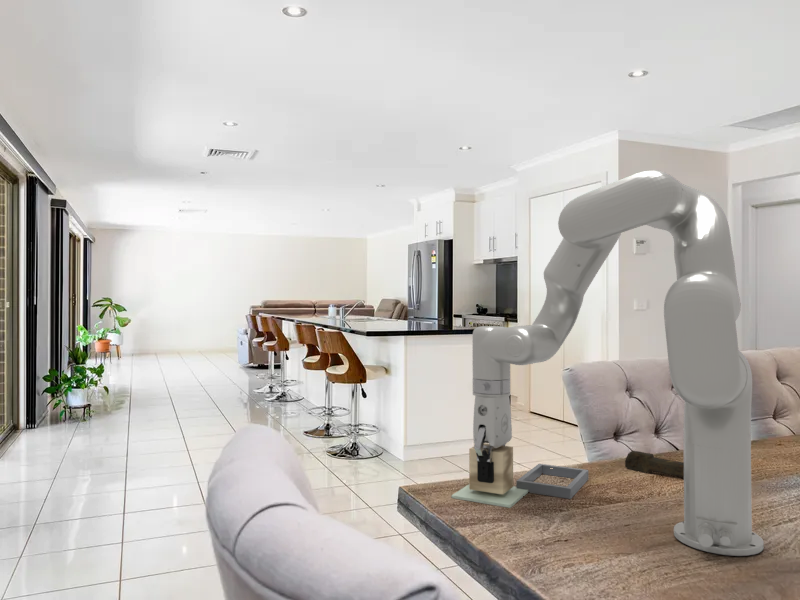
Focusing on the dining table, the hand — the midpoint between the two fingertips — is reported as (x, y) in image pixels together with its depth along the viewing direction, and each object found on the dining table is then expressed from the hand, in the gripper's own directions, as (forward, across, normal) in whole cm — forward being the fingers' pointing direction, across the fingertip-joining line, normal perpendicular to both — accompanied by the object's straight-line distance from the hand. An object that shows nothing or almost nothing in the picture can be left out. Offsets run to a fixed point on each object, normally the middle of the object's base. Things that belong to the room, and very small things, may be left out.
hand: (491, 477), depth 118 cm
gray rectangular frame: (+4, +13, -9) cm, 16 cm away
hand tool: (+4, +32, -29) cm, 44 cm away
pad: (+3, 0, 0) cm, 3 cm away
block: (+2, 0, 0) cm, 2 cm away
